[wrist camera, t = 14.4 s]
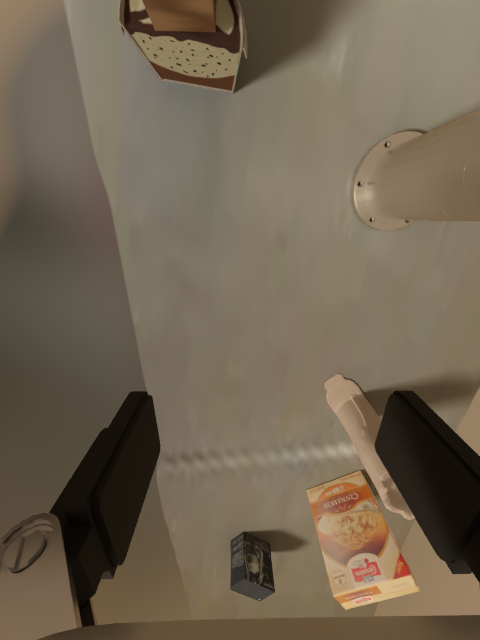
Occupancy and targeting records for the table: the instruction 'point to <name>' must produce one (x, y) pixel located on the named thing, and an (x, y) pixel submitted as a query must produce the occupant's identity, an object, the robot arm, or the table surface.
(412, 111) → the table surface
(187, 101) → the table surface
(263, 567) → the box
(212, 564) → the table surface
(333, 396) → the candle
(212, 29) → the walnut block
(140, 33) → the food container
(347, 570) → the coffeecake box
